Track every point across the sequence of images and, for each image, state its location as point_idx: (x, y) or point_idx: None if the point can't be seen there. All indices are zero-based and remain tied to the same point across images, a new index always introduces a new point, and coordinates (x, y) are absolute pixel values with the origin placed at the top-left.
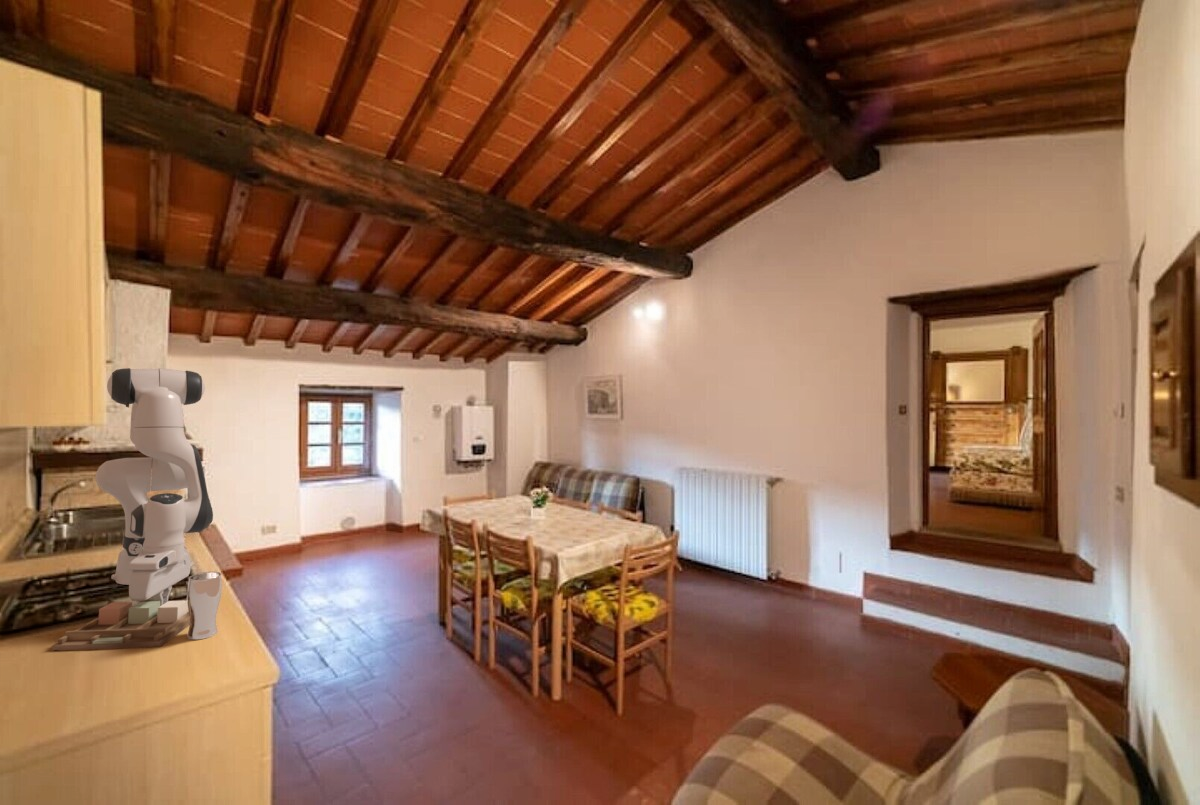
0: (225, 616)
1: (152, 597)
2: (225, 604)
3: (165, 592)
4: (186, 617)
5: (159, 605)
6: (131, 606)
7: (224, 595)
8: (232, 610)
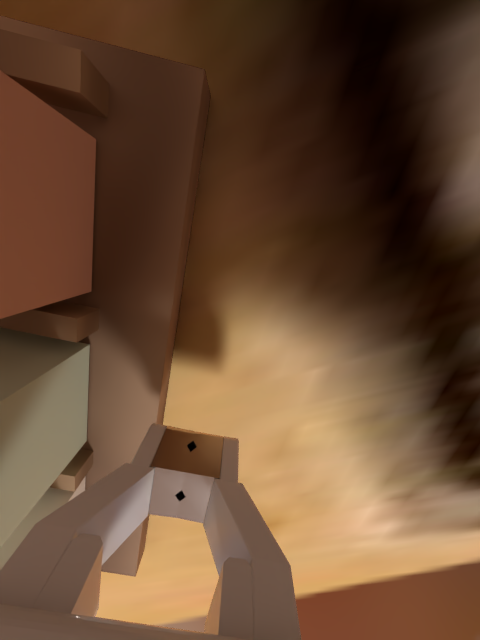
0: (122, 606)
1: (77, 495)
2: None
3: (225, 553)
4: None
5: (17, 515)
6: (15, 311)
7: (395, 572)
8: (184, 614)
